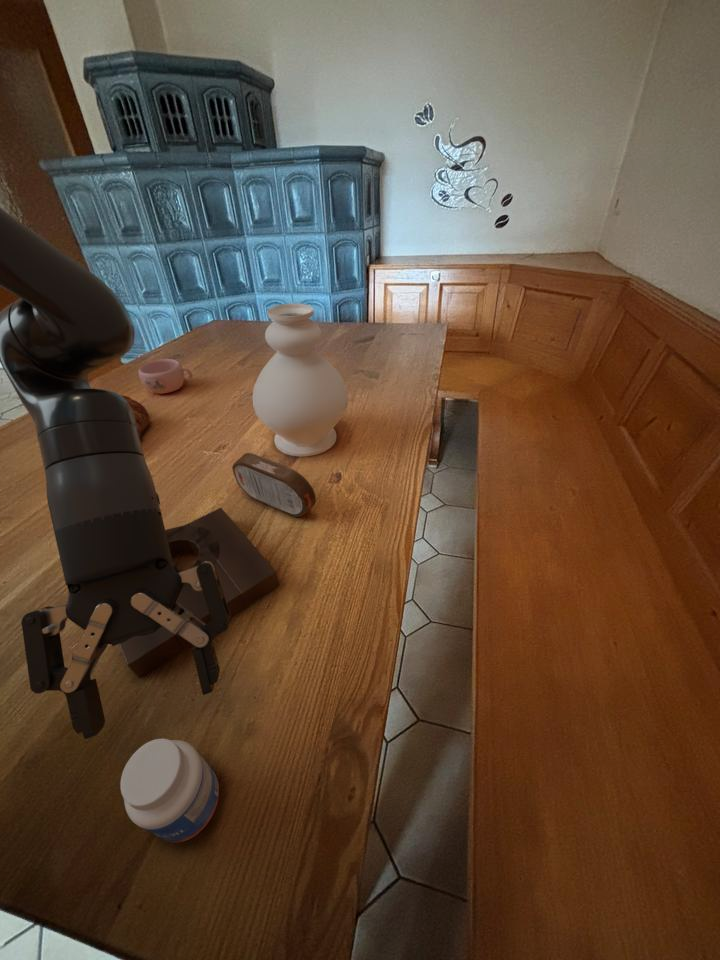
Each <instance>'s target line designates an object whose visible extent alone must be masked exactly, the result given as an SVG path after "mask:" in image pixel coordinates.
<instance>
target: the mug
mask: <svg viewBox="0 0 720 960" xmlns="http://www.w3.org/2000/svg"><path fill="white" fill-rule="evenodd" d="M185 372H187V373H188V377H186V376H185ZM137 373H138V376H139V377H138V378H139V379H140V382H141V384H142V385H143V386H144V387H145V388H146V389H147V390H148V391H149V392H151V393H154V394H168V393H172V392H175V391H178V390H179V389H181V388H182V386H183V385H184V382H185V381H187V382H188V381H191V380H192V379H193V373H192V371H191V369H189V368H188V367H183V366H182V364H181V362H180V361H178V360H176V359H173V358H172V359H171V358H161V359H155V360H151V361H148V362H145V363H143V364H142V365H141V366H139V368H138V372H137Z"/></svg>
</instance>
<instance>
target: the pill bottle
mask: <svg viewBox="0 0 720 960" xmlns="http://www.w3.org/2000/svg"><path fill="white" fill-rule="evenodd" d="M119 785H120V786H119V787H120V793H121V796H122V798H123V803H124V804H123V805H124V809H125V812H126V814H127V816H128V818H129V819H130V821H131V822H132V823H134V825H136V826H138V827H139V828H141V829H142V830H145V831H147V832H149V833H151V834H152V835H154V836H156V837H159V838H161V839H162V840H164V841H166V842H168V843H169V842H170V843H182V842H185V841H188V840H190V839H192V838H193V837H195V836H197V835H198V834H200V832H201V831H202V830H203V829H204V828H205V827H206V826H207V825H208V823H209V822H210V820H211V819H212V817H213V815H214V813H215V811H216V808H217V805H218V801H219V796H220V784H219V779H218V777H217V774H216V773H215V771H214V770H213V769H212V767H211V766H210V765H209V764H208V763H207V762H206V760H205V759H204V757H202V756H201V754H200V753H199V751H197V749H196V748H195V747H194V746H193V745H192V744H190V743H189V742H187V741H185V740H182V739H168V738H156V739H152V740H150V741H148V742H146V743H144V744H143V745H141V746H140V747H139V748H138V749H137V750H136V751H135V752H133V754H132V755H131V756H130V758H129V759H128V760H127V762H126V764H125V766H124V768H123V770H122V773H121V776H120V784H119Z"/></svg>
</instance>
